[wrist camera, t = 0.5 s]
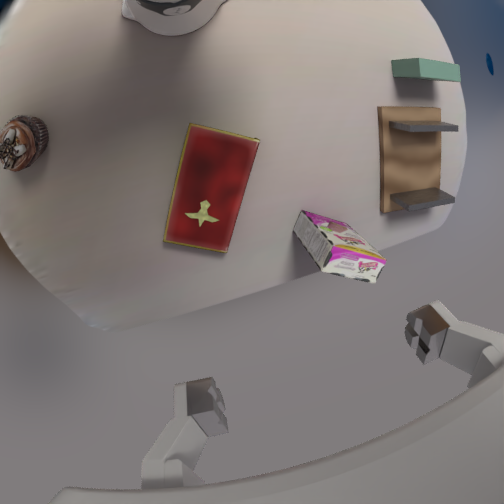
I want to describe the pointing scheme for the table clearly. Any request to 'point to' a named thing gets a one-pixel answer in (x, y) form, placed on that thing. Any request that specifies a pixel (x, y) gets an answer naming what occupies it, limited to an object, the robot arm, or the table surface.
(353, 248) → the candy bar box
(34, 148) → the cupcake
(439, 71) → the book
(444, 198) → the bookends
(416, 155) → the shelf board
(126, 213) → the table surface
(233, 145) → the hardcover book
